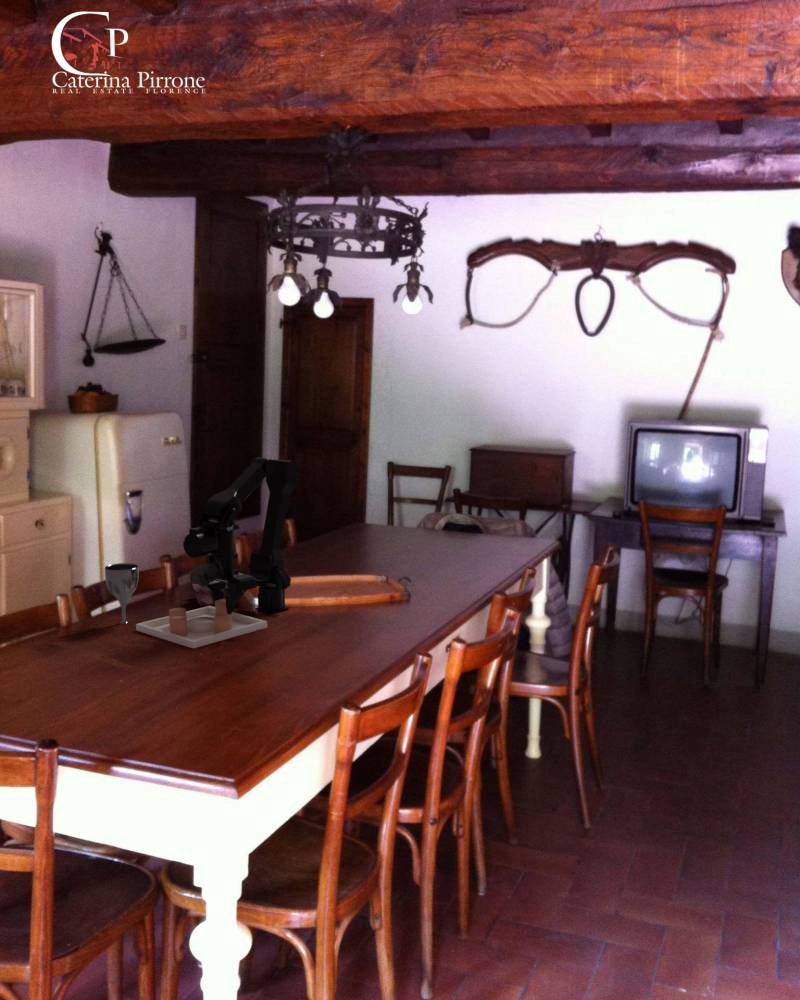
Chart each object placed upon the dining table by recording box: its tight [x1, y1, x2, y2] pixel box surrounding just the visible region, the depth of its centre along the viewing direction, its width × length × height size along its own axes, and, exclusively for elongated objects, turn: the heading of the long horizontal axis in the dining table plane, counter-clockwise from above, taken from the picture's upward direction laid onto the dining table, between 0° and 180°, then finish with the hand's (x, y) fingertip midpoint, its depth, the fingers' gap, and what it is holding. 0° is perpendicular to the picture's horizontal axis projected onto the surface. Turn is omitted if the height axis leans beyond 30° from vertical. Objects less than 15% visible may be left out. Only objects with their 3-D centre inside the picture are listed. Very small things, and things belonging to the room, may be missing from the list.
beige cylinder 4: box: [168, 607, 187, 622], centre depth 243 cm, size 4×4×4 cm
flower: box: [191, 572, 248, 607], centre depth 266 cm, size 15×15×10 cm
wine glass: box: [104, 562, 140, 625], centre depth 246 cm, size 8×8×15 cm
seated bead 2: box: [170, 616, 188, 637], centre depth 236 cm, size 4×4×4 cm
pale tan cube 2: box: [214, 599, 232, 616], centre depth 245 cm, size 4×4×4 cm
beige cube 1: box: [214, 614, 232, 634], centre depth 237 cm, size 4×4×4 cm
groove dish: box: [135, 605, 268, 649], centre depth 241 cm, size 22×22×3 cm
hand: (224, 612), depth 246 cm, fingers closed on pale tan cube 2, 4 cm apart
